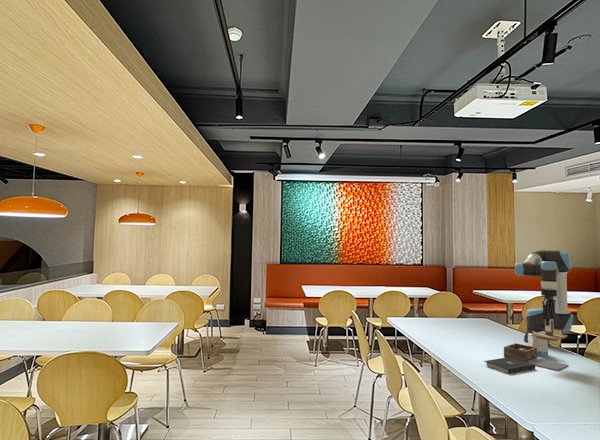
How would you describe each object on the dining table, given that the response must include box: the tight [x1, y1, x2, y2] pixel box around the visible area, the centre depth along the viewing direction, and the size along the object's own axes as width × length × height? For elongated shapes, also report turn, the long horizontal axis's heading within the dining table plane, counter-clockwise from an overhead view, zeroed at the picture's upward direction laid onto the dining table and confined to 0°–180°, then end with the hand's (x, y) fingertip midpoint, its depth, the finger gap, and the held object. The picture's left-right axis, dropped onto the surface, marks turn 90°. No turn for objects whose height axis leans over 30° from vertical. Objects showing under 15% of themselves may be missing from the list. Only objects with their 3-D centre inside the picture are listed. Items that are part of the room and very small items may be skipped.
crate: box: [503, 342, 538, 363], centre depth 226 cm, size 16×12×6 cm
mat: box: [531, 358, 569, 372], centre depth 212 cm, size 16×13×1 cm
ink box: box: [527, 331, 549, 357], centre depth 235 cm, size 9×8×13 cm
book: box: [483, 357, 536, 375], centre depth 207 cm, size 22×15×3 cm
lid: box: [531, 320, 569, 342], centre depth 214 cm, size 17×13×10 cm
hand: (549, 330), depth 213 cm, fingers closed on lid, 3 cm apart
